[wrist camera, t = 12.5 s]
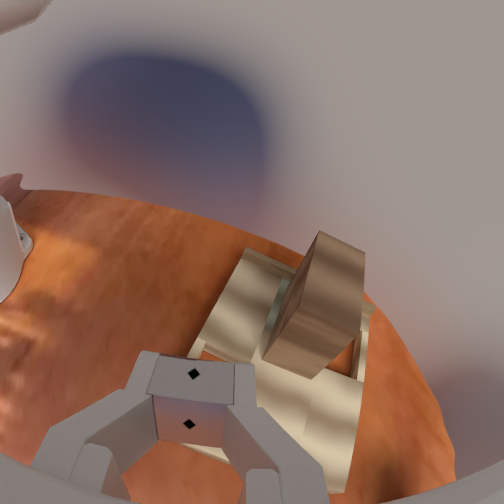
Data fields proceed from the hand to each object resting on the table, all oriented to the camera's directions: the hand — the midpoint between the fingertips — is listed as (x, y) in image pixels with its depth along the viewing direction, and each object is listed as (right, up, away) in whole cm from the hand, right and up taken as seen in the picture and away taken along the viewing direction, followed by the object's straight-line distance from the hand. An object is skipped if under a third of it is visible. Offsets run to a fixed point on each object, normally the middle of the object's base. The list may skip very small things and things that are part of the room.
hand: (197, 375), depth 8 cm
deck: (+5, -10, +26) cm, 29 cm away
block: (+7, -6, +29) cm, 30 cm away
